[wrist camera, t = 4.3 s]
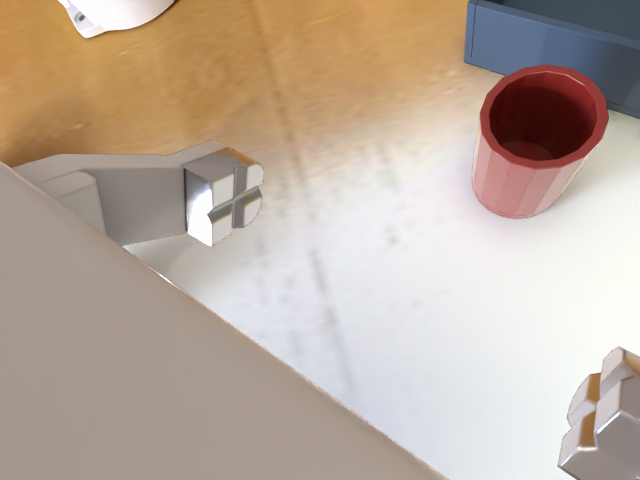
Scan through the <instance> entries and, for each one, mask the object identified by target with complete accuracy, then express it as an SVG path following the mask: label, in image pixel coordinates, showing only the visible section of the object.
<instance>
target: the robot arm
mask: <svg viewBox="0 0 640 480" xmlns="http://www.w3.org/2000/svg"><path fill="white" fill-rule="evenodd" d="M59 1H60V2H61V3H62V4H63V5H64V7H65V8H66V10H67V12H68V14H69V16H70V18H71V20H72V22H73V24H74V26H75V27H76V29H77V31H78V32H79V33H80V34H81V35H82V36H83V37H85V38H90V37H93V36H96V35H98V34H101V33H103V32H105V31H109V30H125V29H130V28H134V27H137V26H140V25H142V24H144V23H147V22H148V21H150V20H152V19H154V18H155V17H157V16H158V15H160V14H161V13H162V12H163V11H165V10H166V9H167V8H168V7H169V6H170V5H171V4H172V3H173V2H174V1H175V0H59ZM263 182H264V168H263V167H262V165H261V164H260V163H258V162H256V161H254V160H252V159H250V158H248V157H247V156H245V155H243V154H241V153H239V152H237V151H235V150H234V149H231V148H230V147H228V146H226V145H224V144H222V143H220V142H217V141H213V140H211V141H208V142H205V143H202V144H199V145H196V146H194V147H191V148H188V149H185V150H182V151H179V152H176V153H174V154H171V155H168V156H165V157H164V156H162V155H160V154H57V155H53V156H50V157H47V158H43V159H40V160H36V161H33V162H29V163H26V164H22V165H19V166H15V167H12V168H10V167H9V166H7V165H6V164H4V163H3V162H2V161H0V480H449V479H448V478H446V477H445V476H444V475H442V474H441V473H439V472H438V471H437V470H435V469H434V468H432V467H431V466H430V465H428V464H427V463H425V462H424V461H423V460H421V459H420V458H418V457H417V456H415V455H414V454H413V453H411V452H410V451H408V450H407V449H406V448H404V447H403V446H401V445H400V444H399V443H397V442H396V441H394V440H393V439H392V438H390V437H389V436H387V435H386V434H385V433H383V432H382V431H380V430H379V429H378V428H376V427H375V426H373V425H372V424H370V423H369V422H368V421H366V420H365V419H363V418H362V417H361V416H359V415H358V414H356V413H355V412H354V411H352V410H351V409H349V408H348V407H347V406H345V405H344V404H342V403H341V402H340V401H338V400H337V399H335V398H334V397H333V396H331V395H330V394H328V393H327V392H325V391H324V390H323V389H321V388H320V387H318V386H317V385H316V384H314V383H313V382H311V381H310V380H309V379H307V378H306V377H304V376H303V375H302V374H300V373H299V372H297V371H296V370H295V369H293V368H292V367H290V366H289V365H287V364H286V363H285V362H283V361H282V360H280V359H279V358H278V357H276V356H275V355H273V354H272V353H271V352H269V351H268V350H266V349H265V348H264V347H262V346H261V345H259V344H258V343H256V342H255V341H254V340H252V339H251V338H249V337H248V336H247V335H245V334H244V333H242V332H241V331H240V330H238V329H237V328H235V327H234V326H233V325H231V324H230V323H228V322H227V321H226V320H224V319H223V318H221V317H220V316H218V315H217V314H216V313H214V312H213V311H211V310H210V309H209V308H207V307H206V306H204V305H203V304H202V303H200V302H199V301H197V300H196V299H195V298H193V297H192V296H190V295H189V294H187V293H186V292H185V291H183V290H182V289H180V288H179V287H178V286H176V285H175V284H173V283H172V282H171V281H169V280H168V279H166V278H165V277H164V276H162V275H161V274H159V273H158V272H157V271H155V270H154V269H152V268H151V267H149V266H148V265H147V264H145V263H144V262H142V261H141V260H140V259H138V258H137V257H135V256H134V255H133V254H131V253H130V252H128V251H127V250H126V249H124V248H123V247H121V246H123V245H129V244H134V243H139V242H144V241H149V240H155V239H160V238H165V237H170V236H175V235H180V234H185V233H186V232H187V233H189V234H190V235H192V236H194V237H196V238H197V239H199V240H201V241H202V242H204V243H206V244H207V245H209V246H211V247H212V246H214V245H215V244H217V243H219V242H220V241H222V240H224V239H225V238H227V237H229V236H230V235H231V233H232V229H235V228H244V227H245V226H247V225H248V224H250V223H252V221H253V220H254V219H255V217H256V216H257V215H258V213H259V210H260V208H261V204H262V195H261V192H260V190H259V186H260V185H261V184H262V183H263ZM567 420H568V422H569V424H570V426H571V429H570V430H569V431H568V432H567V433H566V434H565V435H564V436H563V439H562V444H561V450H560V455H559V461H558V466H557V467H559V468H560V469H562V470H563V471H565V472H566V473H568V474H569V475H571V476H572V477H574V478H575V479H577V480H640V357H639V356H637V355H635V354H633V353H631V352H629V351H627V350H625V349H623V348H621V347H619V346H618V347H617V348H615V349H614V350H612V351H611V352H610V353H609V354H608V355H607V356H606V357H605V358H604V359H603V364H602V371H601V373H596V374H590V375H589V376H588V377H587V378H586V379H585V380H584V381H583V383H582V384H581V385H580V386H579V388H578V390H577V391H576V393H575V395H574V396H573V398H572V401H571V404H570V406H569V410H568V414H567Z"/></svg>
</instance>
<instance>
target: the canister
mask: <svg viewBox="0 0 640 480" xmlns="http://www.w3.org/2000/svg"><path fill="white" fill-rule="evenodd" d="M608 118H609V116H608V111H607V105H606V99H605V96H604V95H603V94H602V92H601V91H600V90H599V88H598V87H597V86H596V84H595V83H594V82H593V80H591V79H590V78H588V77H586V76H585V75H583V74H581V73H579V72H577V71H576V70H574V69H571V68H567V67H561V66H555V65H549V64H548V65H547V64H545V65H539V66H532V67H525V68H522V69H520V70H518V71H516V72H514V73H512V74H510V75H508V76H506V77H504V78H502V79H501V80H500V81H499V82H498V83H497V84H496V85H495V86H494V87H493V88H492V90H491V91H490V92H489V93H488V94H487V95H486V98H485V101H484V103H483V106H482V109H481V111H480V116H479V123H478V130H477V138H476V145H475V152H474V159H473V166H472V186H473V190H474V193H475V195H476V197H477V198H478V200H479V201H480V202H481V203H482V205H483V206H485V207H486V208H487V209H488V210H490V211H491V212H493V213H495V214H497V215H500V216H503V217H507V218H528V217H532V216H535V215H538V214H540V213H542V212H544V211H545V210H547V209H548V208H549V207H550V206H552V205H553V204H554V202H555V201H556V200H557V199H558V198H559V197H560V196H561V195H562V193H563V192H564V190H565V189H566V188H567V186H568V185H569V184H570V182H571V181H572V179H573V178H574V177H575V175H576V174H577V173H578V171H579V170H580V169H581V167H582V166H583V164H584V163H585V162H586V160H587V159H588V158H589V156H590V155H591V153H592V152H593V151H594V149H595V148H596V147H597V145H598V144H599V143H600V141H601V139H602V137H603V135H604V132H605V129H606V126H607V123H608V120H609V119H608Z"/></svg>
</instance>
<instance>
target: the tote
mask: <svg viewBox="0 0 640 480" xmlns="http://www.w3.org/2000/svg"><path fill="white" fill-rule="evenodd" d="M464 62H466V63H469V64H472V65H475V66H478V67H481V68H484V69H488V70H491V71H494V72H497V73H500V74H503V75H506V76H508V75H510V74H512V73H514V72H516V71H518V70H520V69H522V68H525V67H532V66H539V65H545V64H547V65H548V64H549V65H555V66H561V67H567V68H571V69H574V70H576V71H577V72H579V73H581V74H583V75H585V76H586V77H588V78H590V79H591V80H593V82H594V83H595V84H596V86H597V87H598V88H599V90H600V91H601V92H602V94H603V95H604V96H605V99H606V105H607V108H609V109H612V110H615V111H618V112H621V113H625V114H628V115H631V116H634V117H637V118H640V0H470V1H469V2H468V6H467V23H466V40H465V57H464Z"/></svg>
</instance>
